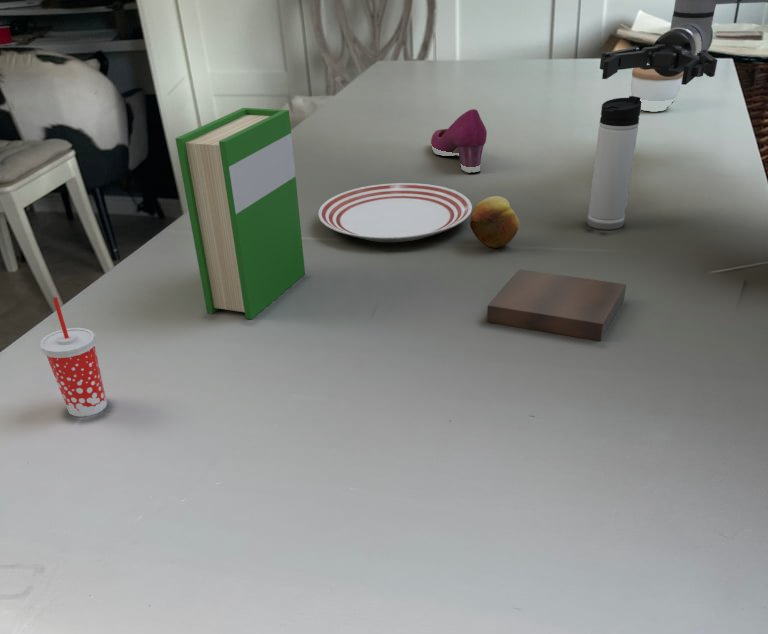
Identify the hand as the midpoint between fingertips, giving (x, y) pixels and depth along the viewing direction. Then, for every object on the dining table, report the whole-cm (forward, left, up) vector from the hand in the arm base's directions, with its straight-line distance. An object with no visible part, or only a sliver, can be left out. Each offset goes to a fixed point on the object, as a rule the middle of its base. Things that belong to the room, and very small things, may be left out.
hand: (644, 72), depth 137 cm
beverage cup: (+44, +97, -22) cm, 109 cm away
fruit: (+16, +29, -22) cm, 40 cm away
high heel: (+40, -18, -22) cm, 50 cm away
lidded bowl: (+10, -77, -22) cm, 80 cm away
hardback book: (+43, +60, -22) cm, 77 cm away
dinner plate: (+36, +25, -22) cm, 49 cm away
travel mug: (+1, +12, -22) cm, 25 cm away
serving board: (-1, +50, -22) cm, 55 cm away
